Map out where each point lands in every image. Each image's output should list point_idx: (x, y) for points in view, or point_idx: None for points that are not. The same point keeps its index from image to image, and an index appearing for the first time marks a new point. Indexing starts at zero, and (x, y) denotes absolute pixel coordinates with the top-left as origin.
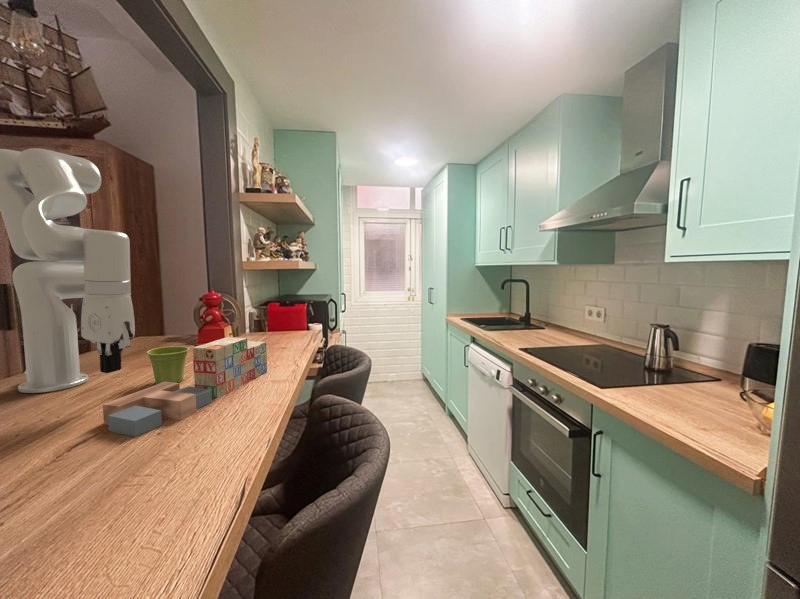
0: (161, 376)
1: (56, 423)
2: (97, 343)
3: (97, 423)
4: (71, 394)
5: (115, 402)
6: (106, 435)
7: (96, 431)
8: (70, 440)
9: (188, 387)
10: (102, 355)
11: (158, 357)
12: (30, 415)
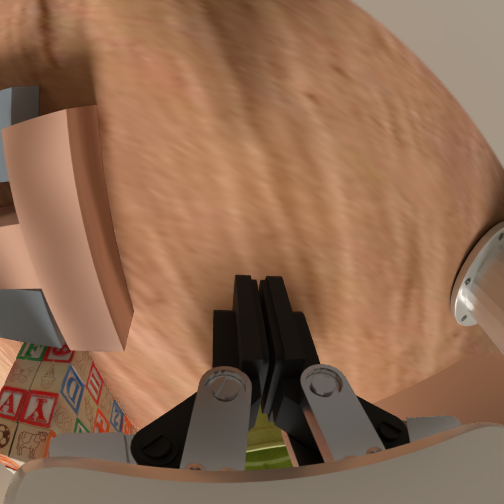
0: None
1: (261, 56)
2: (366, 437)
3: (120, 98)
4: (431, 246)
5: (43, 144)
6: (23, 70)
7: (67, 66)
8: (83, 7)
9: (49, 341)
10: (285, 361)
11: (254, 440)
12: (404, 98)
